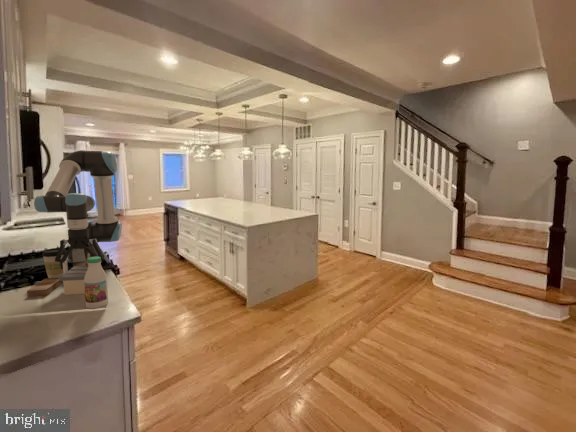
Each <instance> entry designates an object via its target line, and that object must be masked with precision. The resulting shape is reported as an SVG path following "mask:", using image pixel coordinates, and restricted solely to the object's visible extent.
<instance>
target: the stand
mask: <svg viewBox="0 0 576 432" xmlns="http://www.w3.org/2000/svg"><path fill="white" fill-rule="evenodd" d="M62 284H64V283H63V281H59V278H48V277H46V278H43V279H42V280H41V281H39V282H37V283H36V284H35V285H33V286H32V287H30V288H28V289H27V291H26V294H27V298H29V297H30V298H32V297H48V296H49V295H50V294H52V293H53V292H54V291H55V290H56V289H57V288H59V287H60V286H61V285H62Z"/></svg>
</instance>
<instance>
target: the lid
mask: <svg viewBox="0 0 576 432" xmlns="http://www.w3.org/2000/svg"><path fill="white" fill-rule="evenodd" d="M87 270H88V266H74V267H73V266H72V267H70V269H68V272H66V273H65V274H64V275H62V276H61V277H59V281H70V280H84V278H85V274H86V272H87Z"/></svg>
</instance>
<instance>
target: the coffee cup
mask: <svg viewBox="0 0 576 432" xmlns="http://www.w3.org/2000/svg"><path fill="white" fill-rule="evenodd" d="M58 250H59V247H53V248H48V249H45V250H44V249H43V251H42V253H41V256H42V257H43V263H44V268H45V271H46V275H47V278H59V277H61V276H62V275H64V274H63V269H61V266H60V262H56V261H55V258H56V255H57V253H58ZM66 252H67V250H66V247H65V248H64V251H63V253H62V256H61V259H62V257H63V256H64V254H65V253H66ZM65 261H67V259H66V260H65Z"/></svg>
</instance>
